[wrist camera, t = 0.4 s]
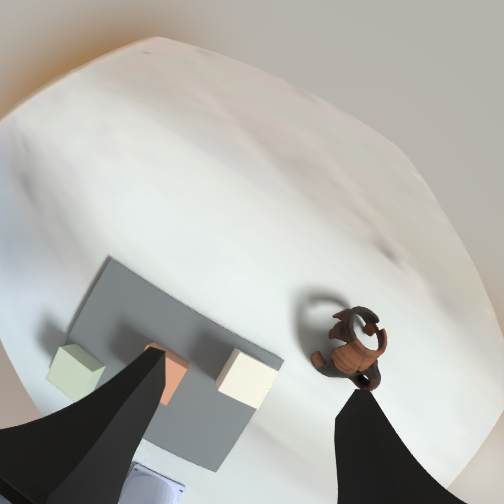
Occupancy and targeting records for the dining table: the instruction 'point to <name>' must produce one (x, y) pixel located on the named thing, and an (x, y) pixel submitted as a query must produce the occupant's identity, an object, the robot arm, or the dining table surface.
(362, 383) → the dark brown arched piece
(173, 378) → the terracotta cube
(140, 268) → the dining table surface
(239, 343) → the board
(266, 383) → the cream cube
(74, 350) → the sage cube
